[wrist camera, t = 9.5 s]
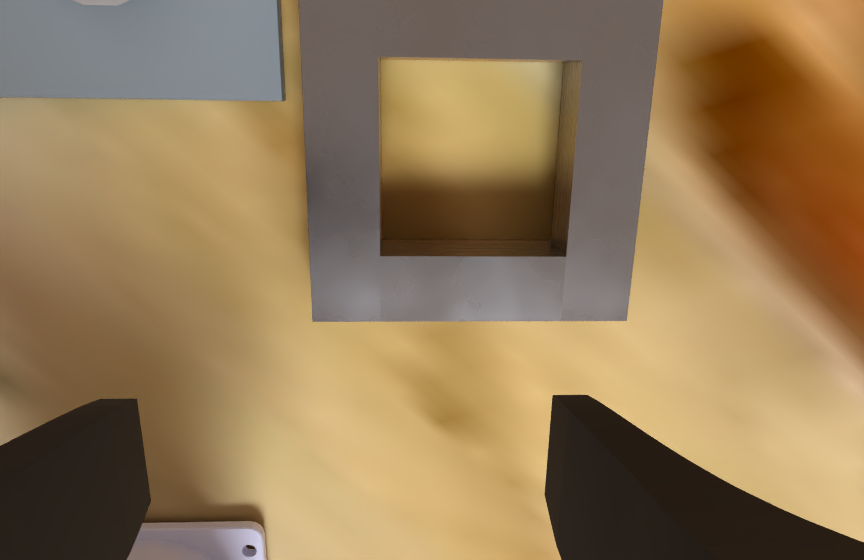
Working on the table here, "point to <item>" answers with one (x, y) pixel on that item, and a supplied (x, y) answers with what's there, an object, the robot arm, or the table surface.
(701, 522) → the robot arm
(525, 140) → the table surface
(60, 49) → the mat
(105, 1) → the rook chess piece
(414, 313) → the square collar
